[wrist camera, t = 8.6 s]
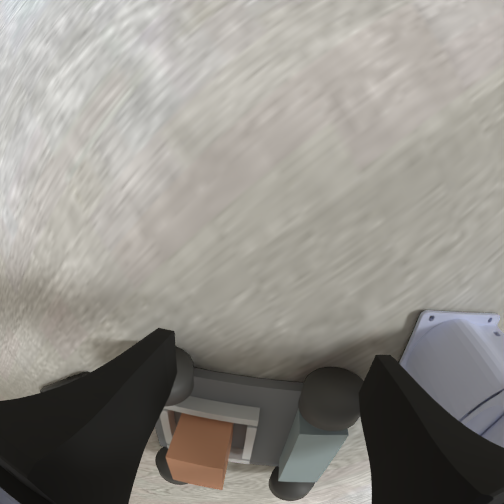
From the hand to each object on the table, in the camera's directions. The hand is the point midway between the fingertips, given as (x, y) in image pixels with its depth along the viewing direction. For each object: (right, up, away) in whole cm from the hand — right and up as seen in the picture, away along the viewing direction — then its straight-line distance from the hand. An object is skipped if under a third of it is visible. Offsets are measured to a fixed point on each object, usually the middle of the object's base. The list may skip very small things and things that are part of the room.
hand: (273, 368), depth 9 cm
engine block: (-5, -12, +14) cm, 19 cm away
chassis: (-2, -13, +15) cm, 19 cm away
